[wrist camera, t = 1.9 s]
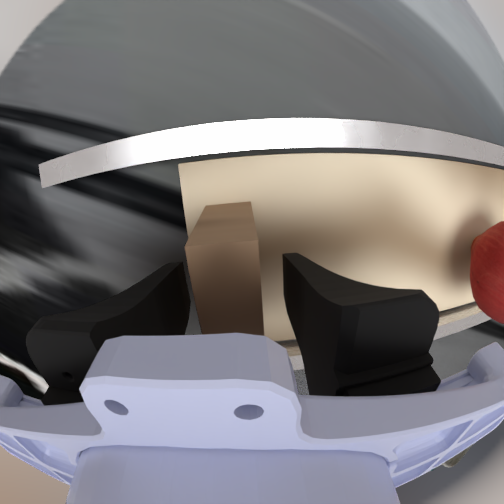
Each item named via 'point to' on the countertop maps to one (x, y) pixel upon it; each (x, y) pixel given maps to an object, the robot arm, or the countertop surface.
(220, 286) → the cream shallow tray
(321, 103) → the countertop surface
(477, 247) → the onion
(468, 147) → the guide rails
